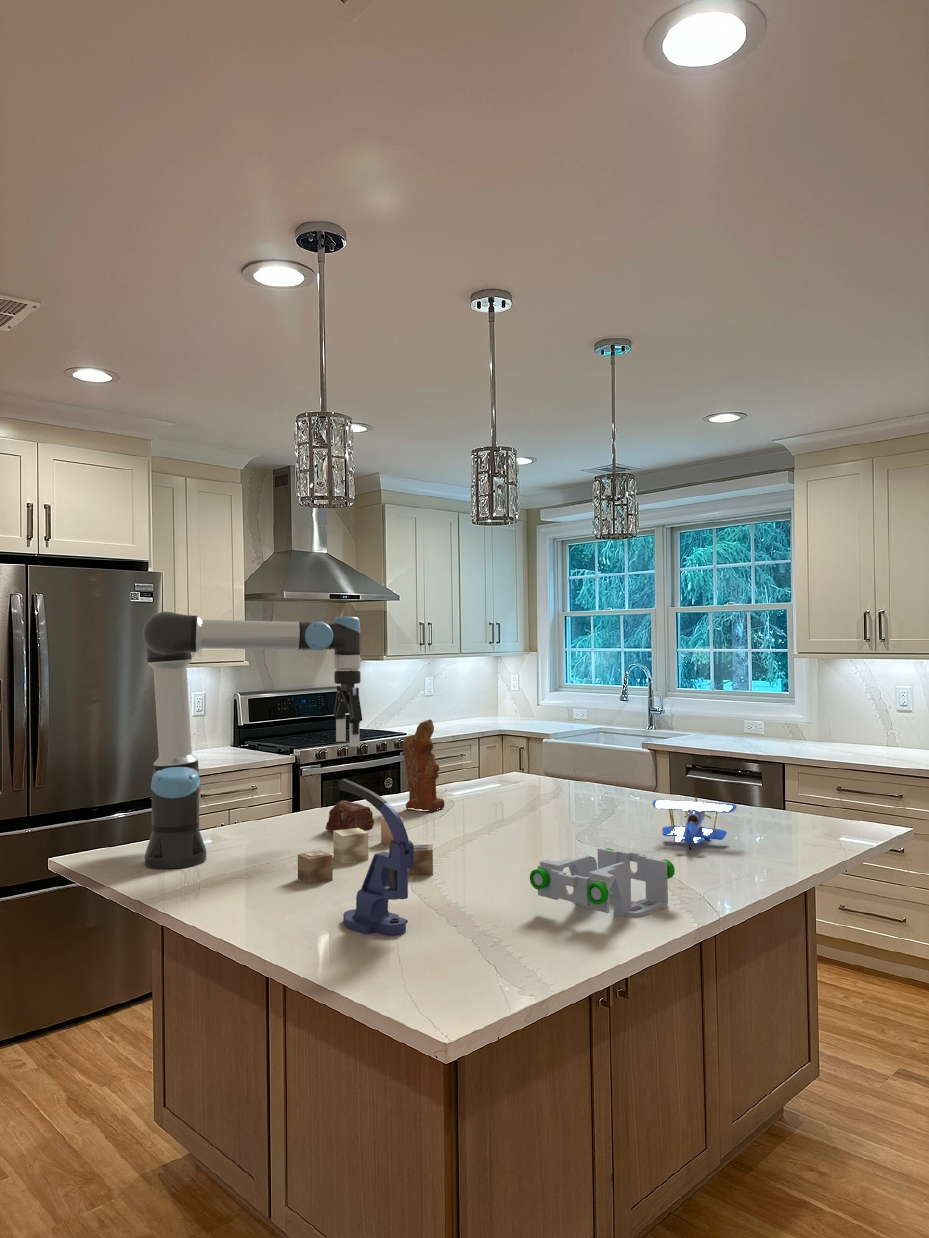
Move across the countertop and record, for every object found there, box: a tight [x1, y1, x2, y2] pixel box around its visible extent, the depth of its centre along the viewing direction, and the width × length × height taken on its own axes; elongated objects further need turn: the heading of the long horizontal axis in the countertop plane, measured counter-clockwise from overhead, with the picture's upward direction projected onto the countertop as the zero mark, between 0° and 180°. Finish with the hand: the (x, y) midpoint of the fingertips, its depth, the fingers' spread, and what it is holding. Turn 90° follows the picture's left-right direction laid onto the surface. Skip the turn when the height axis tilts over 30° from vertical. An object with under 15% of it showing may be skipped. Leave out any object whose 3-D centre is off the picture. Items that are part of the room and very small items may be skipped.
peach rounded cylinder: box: [380, 816, 404, 846], centre depth 241 cm, size 6×6×7 cm
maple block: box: [332, 828, 369, 864], centre depth 224 cm, size 7×7×7 cm
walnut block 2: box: [408, 843, 434, 877], centre depth 210 cm, size 6×6×6 cm
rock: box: [325, 799, 376, 833], centre depth 254 cm, size 18×6×9 cm, turn 47°
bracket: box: [529, 847, 676, 918], centre depth 180 cm, size 19×25×10 cm
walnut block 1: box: [297, 850, 334, 886], centre depth 204 cm, size 6×6×6 cm
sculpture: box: [401, 719, 445, 812], centre depth 289 cm, size 13×9×30 cm
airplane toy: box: [652, 796, 738, 851], centre depth 236 cm, size 25×22×13 cm
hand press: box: [338, 778, 414, 937], centre depth 171 cm, size 19×9×28 cm, turn 50°
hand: (347, 743), depth 249 cm, fingers open, 13 cm apart
